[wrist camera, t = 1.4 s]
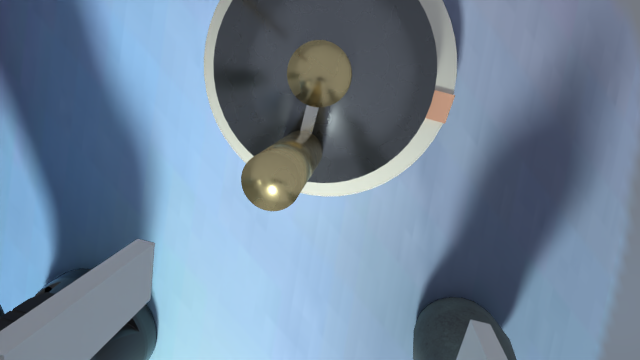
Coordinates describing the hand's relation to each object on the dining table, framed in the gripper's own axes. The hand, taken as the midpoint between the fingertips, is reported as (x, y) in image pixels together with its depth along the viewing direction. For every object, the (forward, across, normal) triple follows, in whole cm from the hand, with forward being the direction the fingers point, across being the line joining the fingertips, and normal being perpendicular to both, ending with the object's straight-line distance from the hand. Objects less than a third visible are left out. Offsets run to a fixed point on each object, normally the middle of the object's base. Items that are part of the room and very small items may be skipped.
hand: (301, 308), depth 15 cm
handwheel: (+19, -3, +9) cm, 22 cm away
